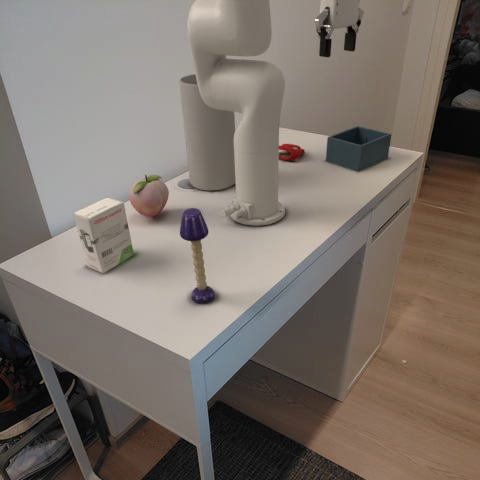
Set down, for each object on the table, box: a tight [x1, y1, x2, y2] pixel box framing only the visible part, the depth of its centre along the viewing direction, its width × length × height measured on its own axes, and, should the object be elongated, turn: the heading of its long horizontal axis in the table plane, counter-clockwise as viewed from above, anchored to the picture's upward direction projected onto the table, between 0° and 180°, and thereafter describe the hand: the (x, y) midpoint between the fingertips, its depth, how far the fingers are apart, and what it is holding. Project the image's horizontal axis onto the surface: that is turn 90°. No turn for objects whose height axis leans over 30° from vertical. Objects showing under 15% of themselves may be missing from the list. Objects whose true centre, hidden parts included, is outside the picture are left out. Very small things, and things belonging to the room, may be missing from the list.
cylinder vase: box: [178, 73, 236, 192], centre depth 120 cm, size 12×12×25 cm
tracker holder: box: [279, 143, 305, 162], centre depth 139 cm, size 12×4×10 cm
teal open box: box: [325, 125, 392, 172], centre depth 134 cm, size 13×11×7 cm
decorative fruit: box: [128, 174, 170, 218], centre depth 110 cm, size 9×8×10 cm
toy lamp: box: [179, 207, 216, 305], centre depth 81 cm, size 5×5×17 cm
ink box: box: [72, 197, 135, 274], centre depth 94 cm, size 9×5×12 cm, turn 143°
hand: (337, 53), depth 123 cm, fingers open, 9 cm apart
